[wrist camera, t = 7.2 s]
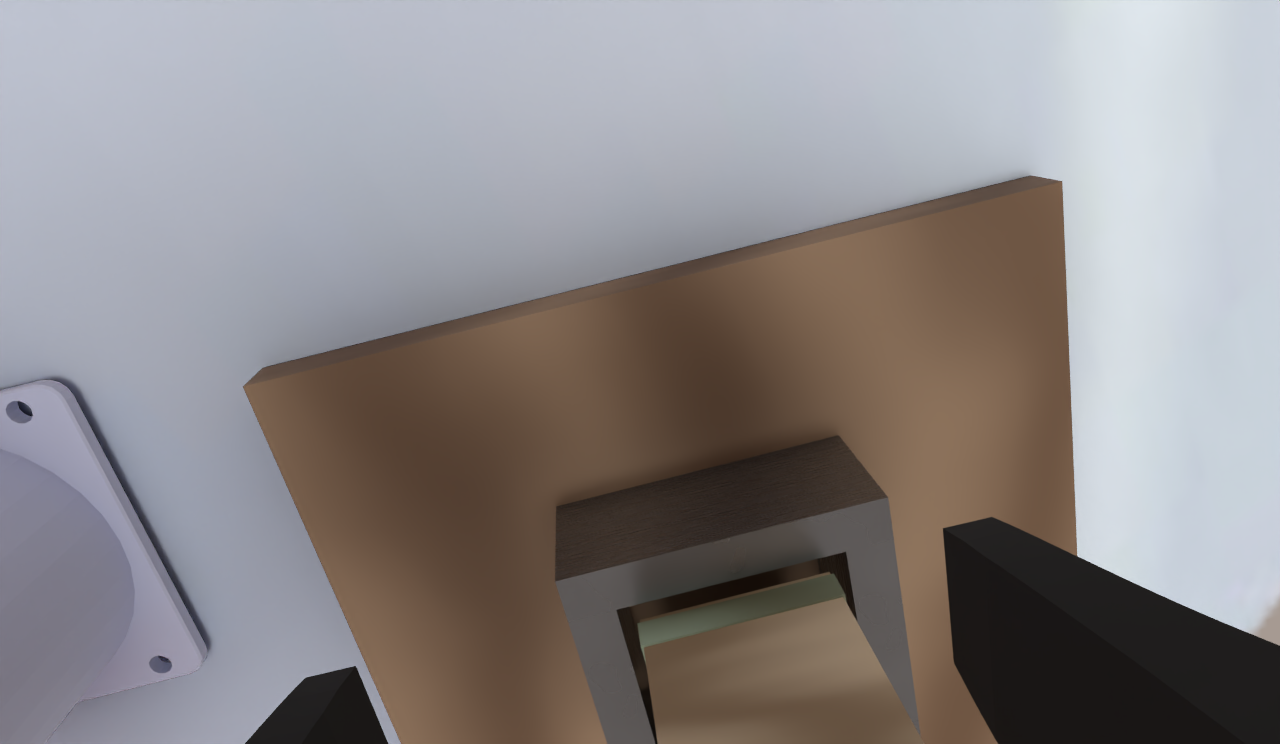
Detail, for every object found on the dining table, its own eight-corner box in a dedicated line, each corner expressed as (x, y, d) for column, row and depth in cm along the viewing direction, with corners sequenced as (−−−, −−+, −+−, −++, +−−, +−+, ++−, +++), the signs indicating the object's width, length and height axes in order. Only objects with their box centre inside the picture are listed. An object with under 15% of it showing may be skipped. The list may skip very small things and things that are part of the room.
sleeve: (628, 740, 21) (638, 841, 18) (555, 506, 18) (554, 581, 16) (876, 677, 21) (924, 767, 18) (838, 434, 18) (888, 497, 16)
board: (474, 859, 23) (469, 898, 22) (263, 368, 18) (243, 386, 17) (1059, 709, 24) (1084, 740, 23) (1030, 175, 18) (1062, 181, 17)
